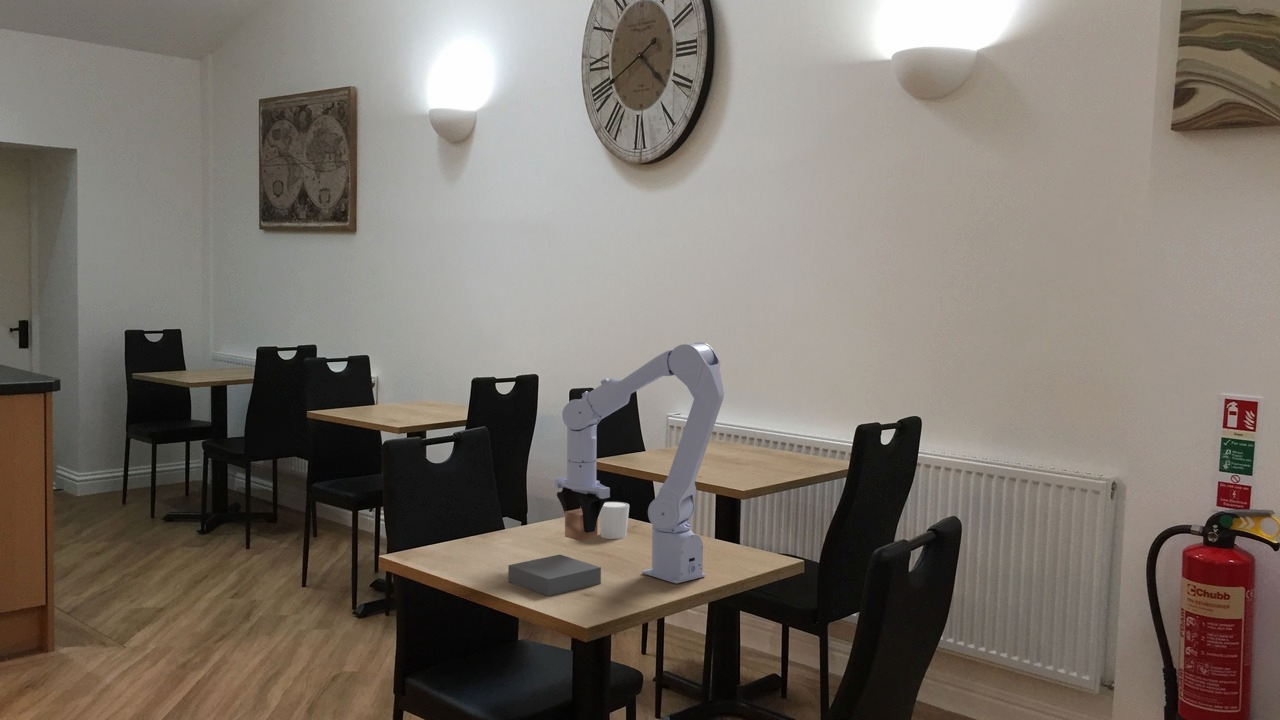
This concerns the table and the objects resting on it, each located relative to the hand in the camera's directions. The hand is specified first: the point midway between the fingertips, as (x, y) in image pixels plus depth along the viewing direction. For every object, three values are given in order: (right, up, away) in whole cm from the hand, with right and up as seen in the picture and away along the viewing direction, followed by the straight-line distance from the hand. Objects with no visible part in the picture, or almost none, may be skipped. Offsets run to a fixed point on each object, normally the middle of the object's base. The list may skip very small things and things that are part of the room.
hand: (581, 529), depth 202 cm
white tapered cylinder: (+6, -6, +24) cm, 25 cm away
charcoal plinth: (-4, -8, -13) cm, 15 cm away
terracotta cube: (0, -2, 0) cm, 2 cm away
